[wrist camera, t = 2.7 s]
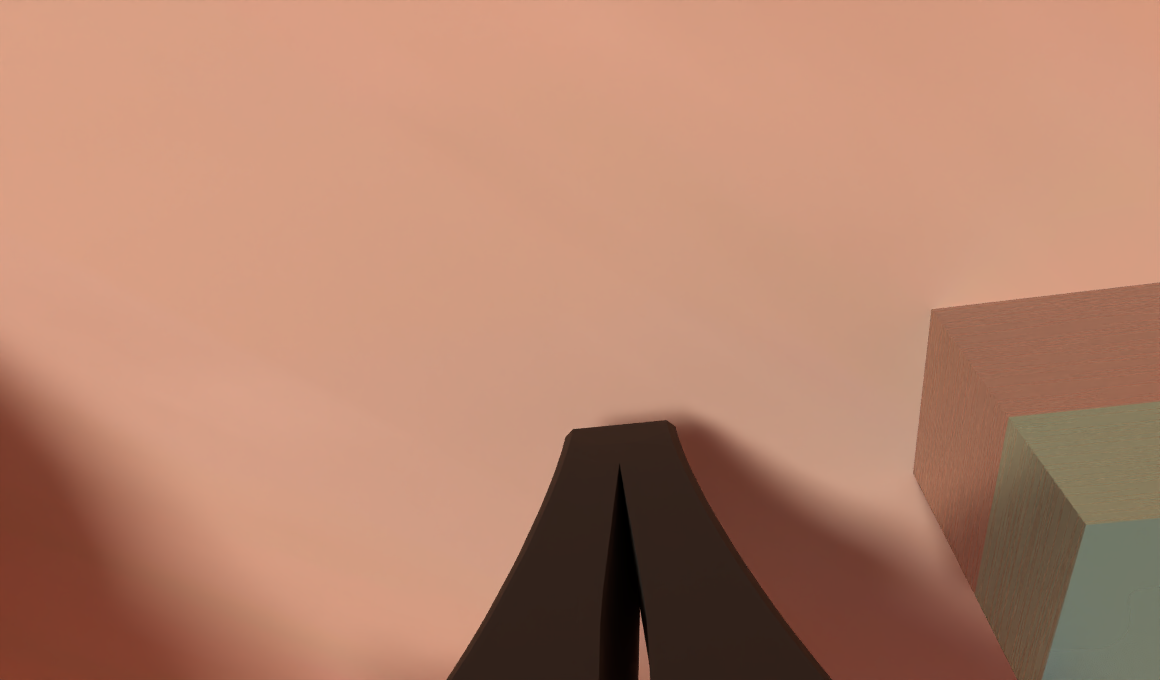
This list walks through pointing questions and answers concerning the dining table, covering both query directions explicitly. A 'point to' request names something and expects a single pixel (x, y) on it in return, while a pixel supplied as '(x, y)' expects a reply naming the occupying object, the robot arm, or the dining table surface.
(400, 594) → the dining table surface
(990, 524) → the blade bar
